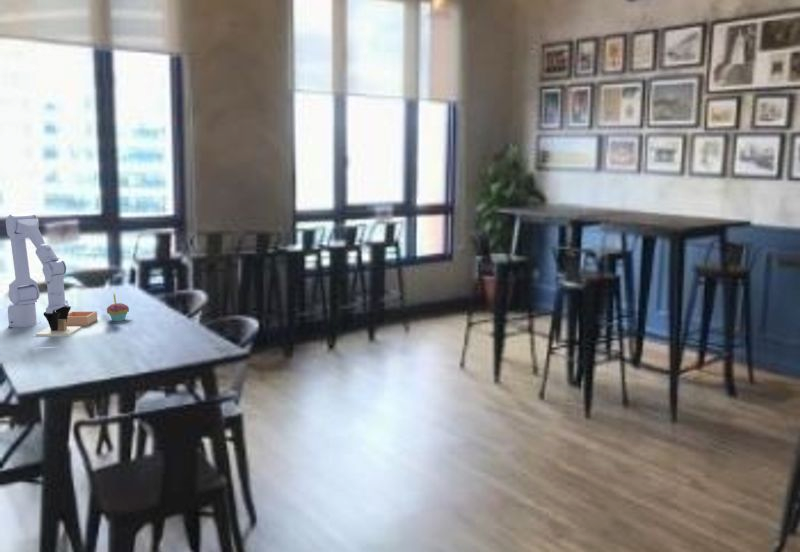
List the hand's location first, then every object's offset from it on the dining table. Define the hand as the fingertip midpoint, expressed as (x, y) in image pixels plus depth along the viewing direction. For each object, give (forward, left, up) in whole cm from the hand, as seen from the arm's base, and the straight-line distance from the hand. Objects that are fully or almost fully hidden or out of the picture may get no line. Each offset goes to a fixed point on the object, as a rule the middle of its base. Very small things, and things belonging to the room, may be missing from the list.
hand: (58, 328), depth 283 cm
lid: (0, 0, -2) cm, 2 cm away
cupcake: (+15, +21, -2) cm, 26 cm away
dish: (+2, +15, -2) cm, 15 cm away
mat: (0, 0, -2) cm, 2 cm away
